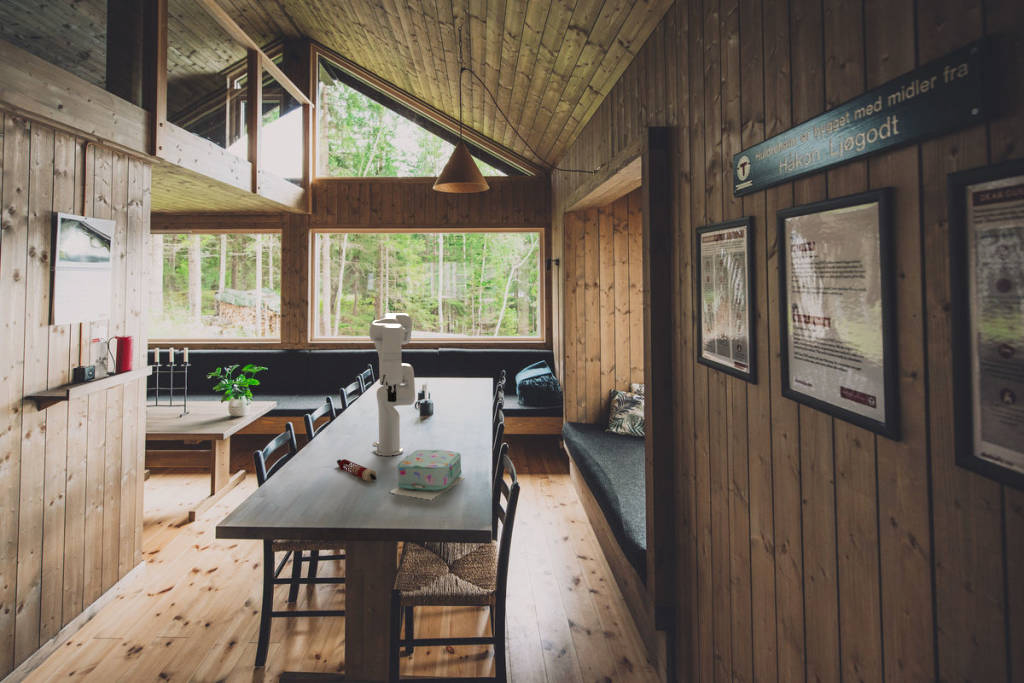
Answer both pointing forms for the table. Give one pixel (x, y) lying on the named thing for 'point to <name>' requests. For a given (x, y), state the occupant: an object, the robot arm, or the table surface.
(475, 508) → the table surface
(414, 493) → the mat
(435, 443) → the table surface
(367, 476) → the shock absorber
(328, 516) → the table surface
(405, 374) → the robot arm
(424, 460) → the lunch box
